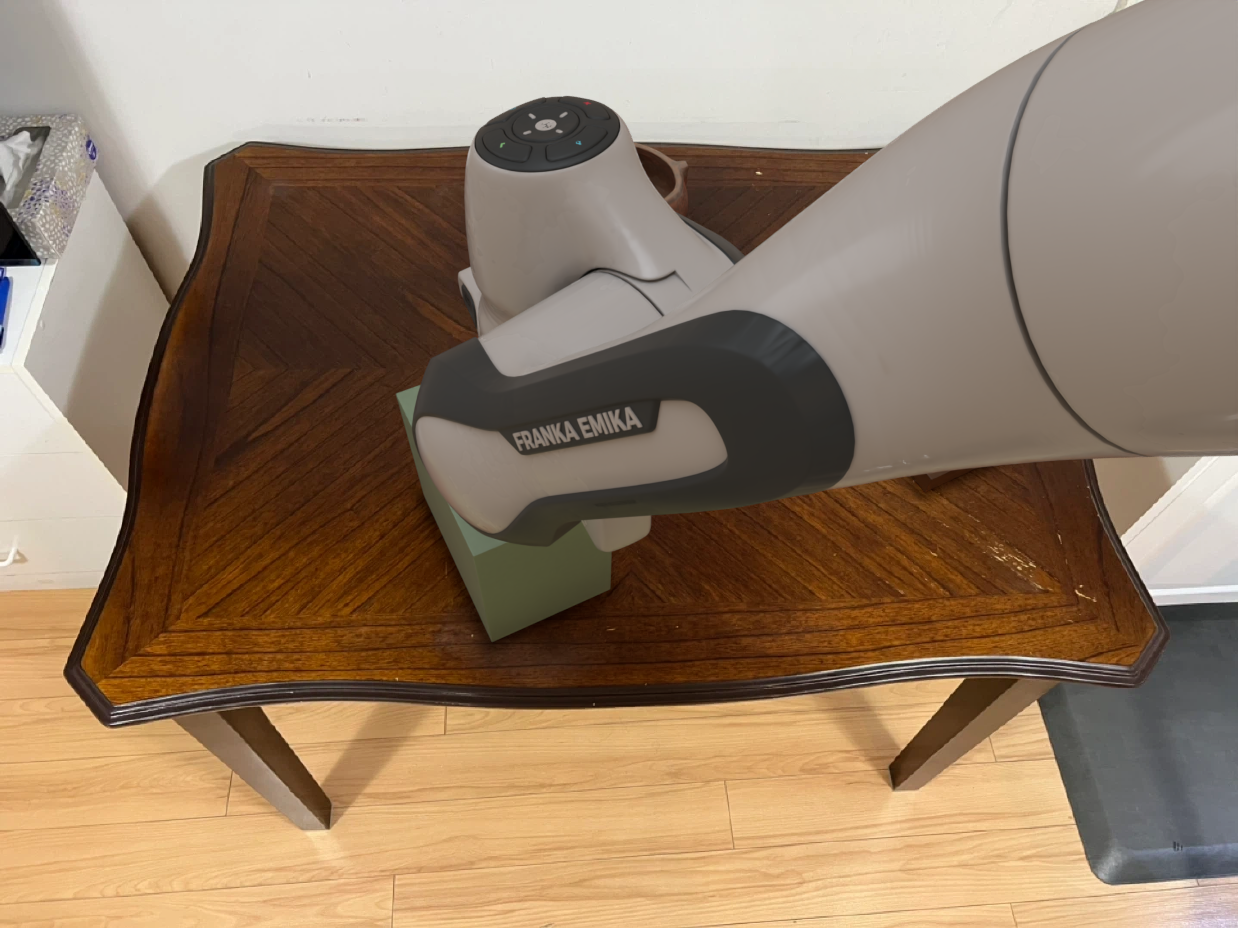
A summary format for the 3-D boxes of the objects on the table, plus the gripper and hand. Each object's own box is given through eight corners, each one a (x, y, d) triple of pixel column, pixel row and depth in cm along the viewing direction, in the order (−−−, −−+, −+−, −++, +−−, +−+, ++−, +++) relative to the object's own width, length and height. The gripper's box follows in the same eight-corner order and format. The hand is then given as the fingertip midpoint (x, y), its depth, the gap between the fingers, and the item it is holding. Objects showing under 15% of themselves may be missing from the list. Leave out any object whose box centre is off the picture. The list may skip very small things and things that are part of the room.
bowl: (706, 220, 107) (716, 147, 99) (647, 311, 100) (652, 240, 91) (584, 177, 111) (583, 102, 103) (517, 262, 103) (510, 189, 95)
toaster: (610, 589, 82) (614, 497, 69) (491, 642, 79) (472, 556, 66) (534, 451, 89) (525, 345, 77) (423, 495, 86) (395, 392, 74)
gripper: (685, 456, 53) (668, 570, 65) (535, 227, 63) (544, 361, 75) (584, 498, 52) (585, 607, 63) (446, 256, 61) (469, 389, 73)
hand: (562, 472), depth 69 cm, fingers open, 3 cm apart
